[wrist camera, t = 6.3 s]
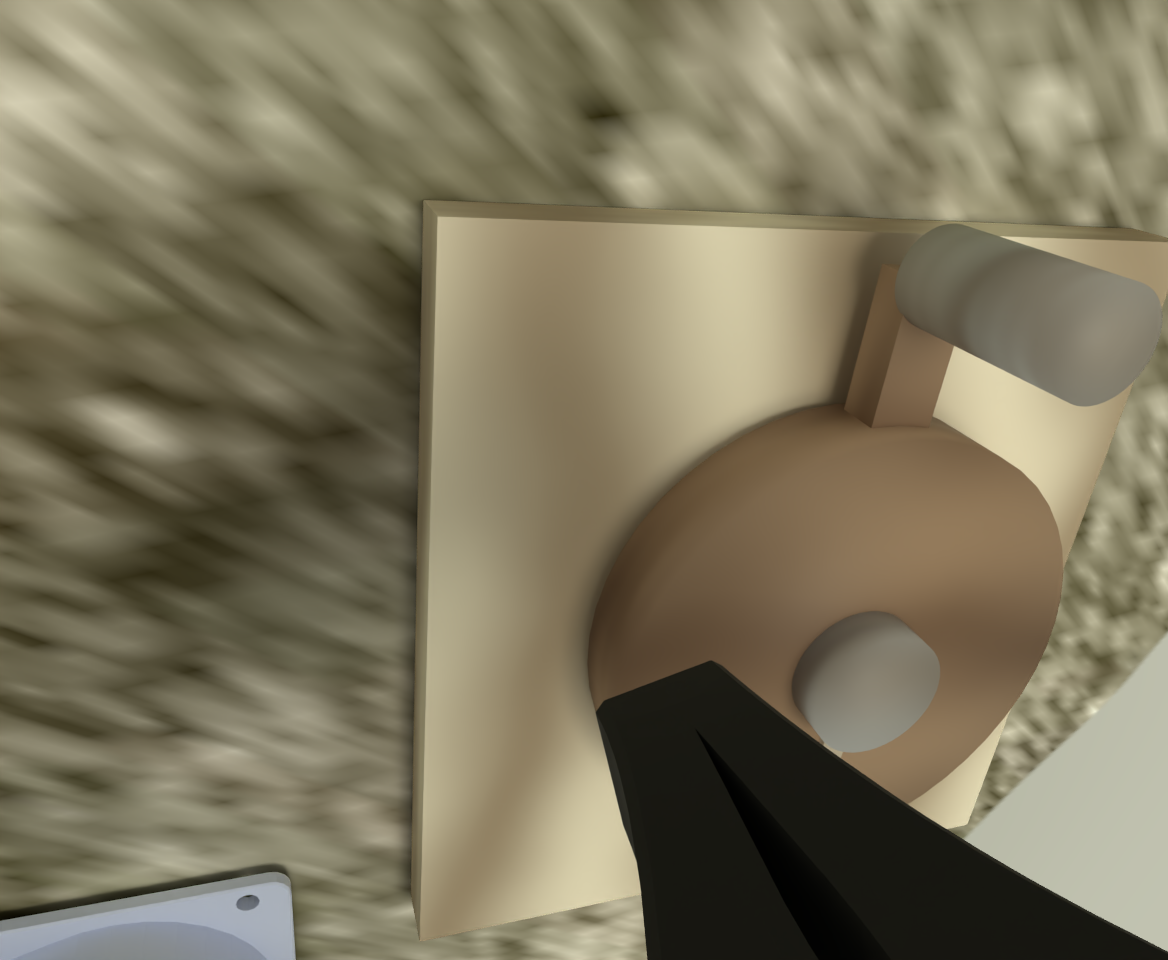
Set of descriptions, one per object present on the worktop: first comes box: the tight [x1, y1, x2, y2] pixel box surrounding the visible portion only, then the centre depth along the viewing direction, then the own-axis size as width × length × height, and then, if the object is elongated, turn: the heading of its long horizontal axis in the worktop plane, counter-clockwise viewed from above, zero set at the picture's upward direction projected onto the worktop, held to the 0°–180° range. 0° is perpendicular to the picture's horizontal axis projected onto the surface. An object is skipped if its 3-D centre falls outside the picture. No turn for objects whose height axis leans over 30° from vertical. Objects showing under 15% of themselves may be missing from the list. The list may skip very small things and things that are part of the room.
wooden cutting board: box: [411, 200, 1168, 942], centre depth 23 cm, size 17×18×2 cm
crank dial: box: [587, 223, 1162, 804], centre depth 19 cm, size 15×11×5 cm
